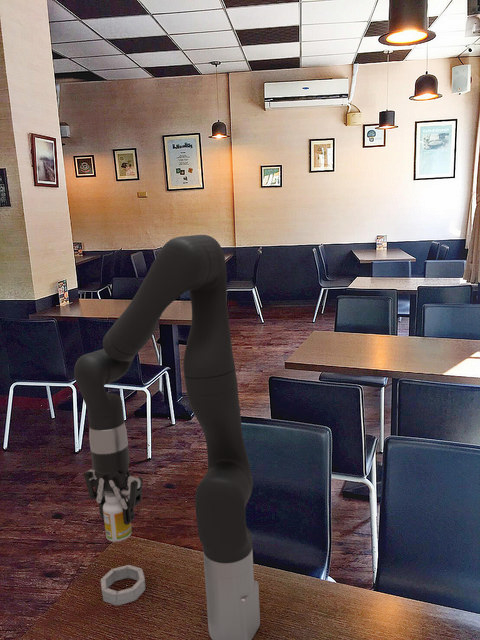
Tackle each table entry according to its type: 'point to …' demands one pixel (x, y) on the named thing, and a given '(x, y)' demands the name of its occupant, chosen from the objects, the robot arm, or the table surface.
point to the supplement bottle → (115, 519)
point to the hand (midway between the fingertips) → (117, 519)
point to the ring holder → (126, 594)
